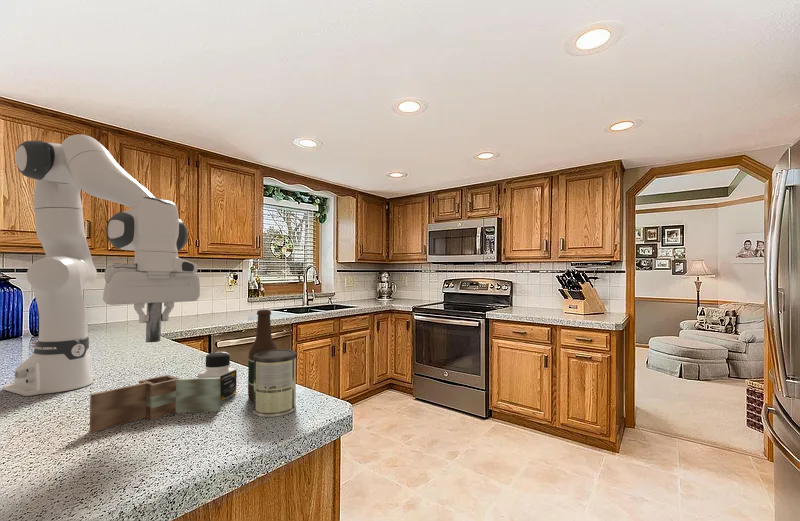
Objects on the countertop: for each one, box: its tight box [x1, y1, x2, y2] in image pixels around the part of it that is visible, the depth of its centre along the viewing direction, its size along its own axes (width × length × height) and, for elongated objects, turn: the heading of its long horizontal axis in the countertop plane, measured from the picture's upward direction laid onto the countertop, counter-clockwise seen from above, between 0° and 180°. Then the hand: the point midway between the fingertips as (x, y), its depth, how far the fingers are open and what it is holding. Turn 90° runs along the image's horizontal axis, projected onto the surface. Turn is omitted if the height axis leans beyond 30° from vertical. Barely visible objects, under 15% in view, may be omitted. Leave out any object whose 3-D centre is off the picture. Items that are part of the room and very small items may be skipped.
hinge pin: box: [145, 303, 163, 343], centre depth 94 cm, size 3×3×12 cm
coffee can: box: [252, 348, 298, 418], centre depth 98 cm, size 10×10×14 cm
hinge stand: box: [89, 374, 221, 434], centre depth 92 cm, size 23×14×8 cm, turn 147°
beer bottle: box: [247, 309, 278, 403], centre depth 107 cm, size 8×8×24 cm
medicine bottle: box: [197, 351, 237, 402], centre depth 108 cm, size 7×7×12 cm
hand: (153, 321), depth 94 cm, fingers closed on hinge pin, 3 cm apart
